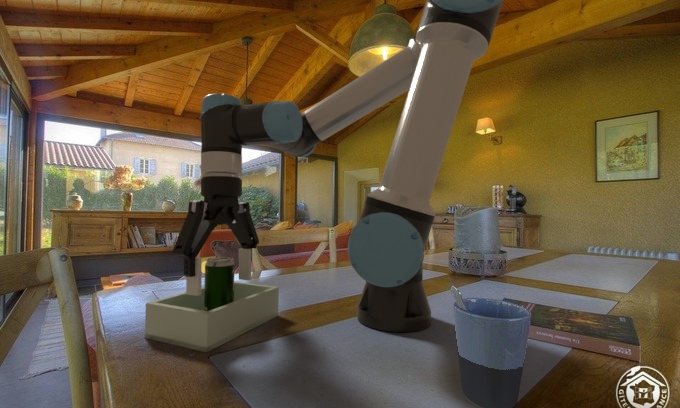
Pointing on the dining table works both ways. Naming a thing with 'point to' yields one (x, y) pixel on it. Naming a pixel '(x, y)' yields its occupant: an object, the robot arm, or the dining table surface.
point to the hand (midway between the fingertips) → (222, 286)
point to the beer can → (218, 282)
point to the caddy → (209, 317)
